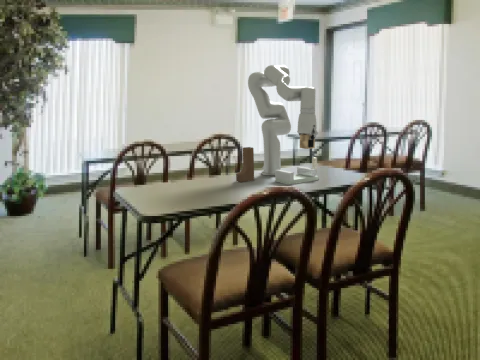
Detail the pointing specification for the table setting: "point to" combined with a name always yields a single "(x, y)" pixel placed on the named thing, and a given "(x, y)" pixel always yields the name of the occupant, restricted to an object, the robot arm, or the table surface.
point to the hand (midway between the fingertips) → (307, 146)
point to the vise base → (298, 179)
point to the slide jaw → (308, 169)
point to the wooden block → (247, 166)
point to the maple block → (305, 141)
